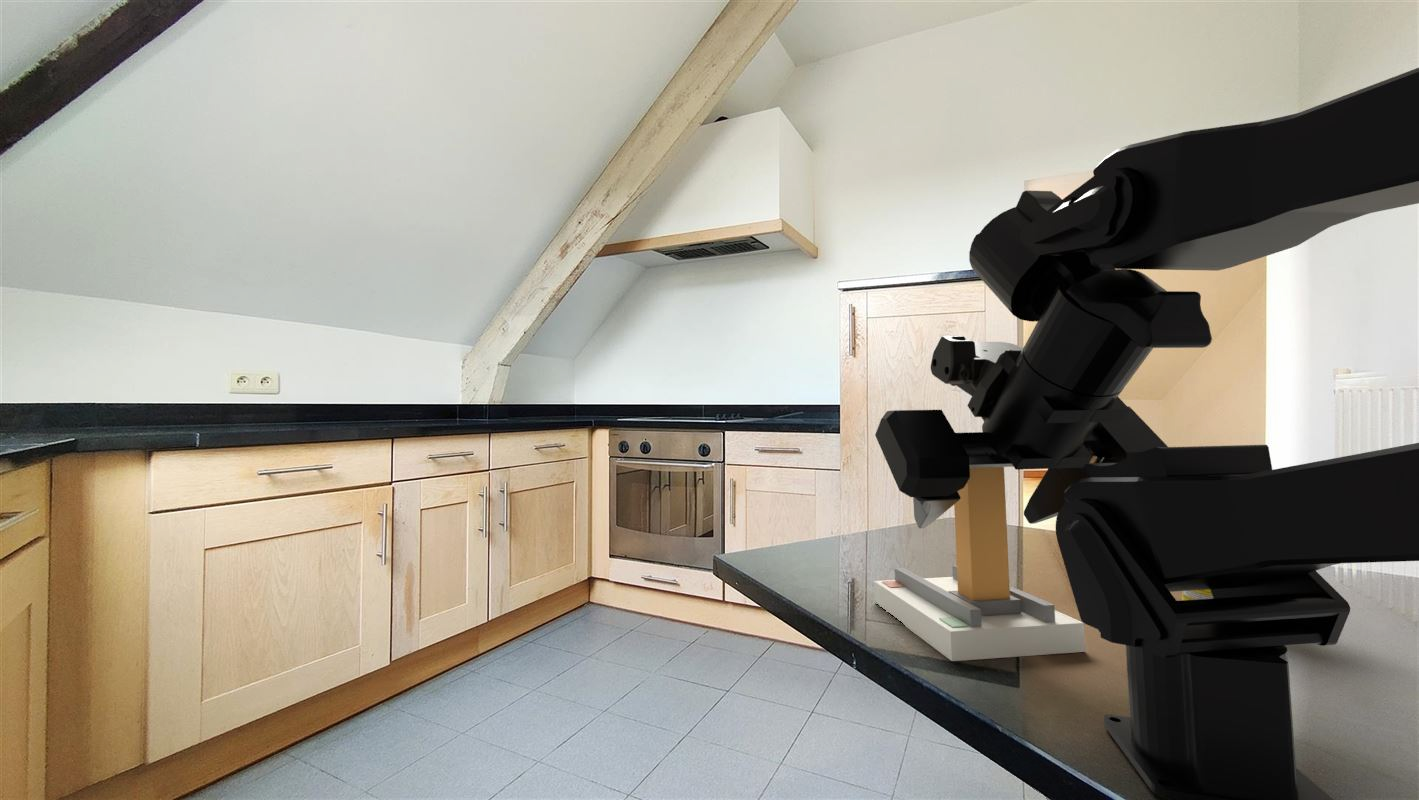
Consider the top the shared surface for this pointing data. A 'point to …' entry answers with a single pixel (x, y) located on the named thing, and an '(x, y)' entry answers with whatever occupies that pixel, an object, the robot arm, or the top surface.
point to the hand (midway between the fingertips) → (974, 520)
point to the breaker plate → (976, 620)
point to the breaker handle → (983, 544)
